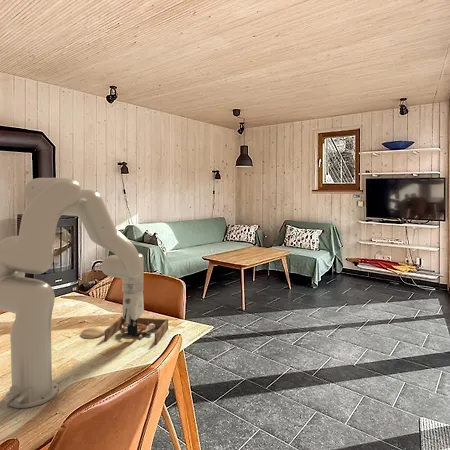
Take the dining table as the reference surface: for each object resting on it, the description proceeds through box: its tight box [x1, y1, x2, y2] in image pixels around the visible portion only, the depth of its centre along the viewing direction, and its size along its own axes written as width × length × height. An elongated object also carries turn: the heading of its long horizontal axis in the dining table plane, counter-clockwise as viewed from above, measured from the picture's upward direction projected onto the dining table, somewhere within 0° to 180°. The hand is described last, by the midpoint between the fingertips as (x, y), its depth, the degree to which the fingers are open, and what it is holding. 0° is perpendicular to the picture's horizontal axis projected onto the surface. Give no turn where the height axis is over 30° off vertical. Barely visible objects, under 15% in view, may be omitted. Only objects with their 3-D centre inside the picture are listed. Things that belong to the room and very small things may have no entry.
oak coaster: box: [80, 326, 106, 339], centre depth 140 cm, size 9×9×1 cm
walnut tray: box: [104, 315, 169, 346], centre depth 140 cm, size 16×20×4 cm
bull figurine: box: [119, 322, 155, 340], centre depth 140 cm, size 4×13×8 cm
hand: (132, 335), depth 135 cm, fingers closed
